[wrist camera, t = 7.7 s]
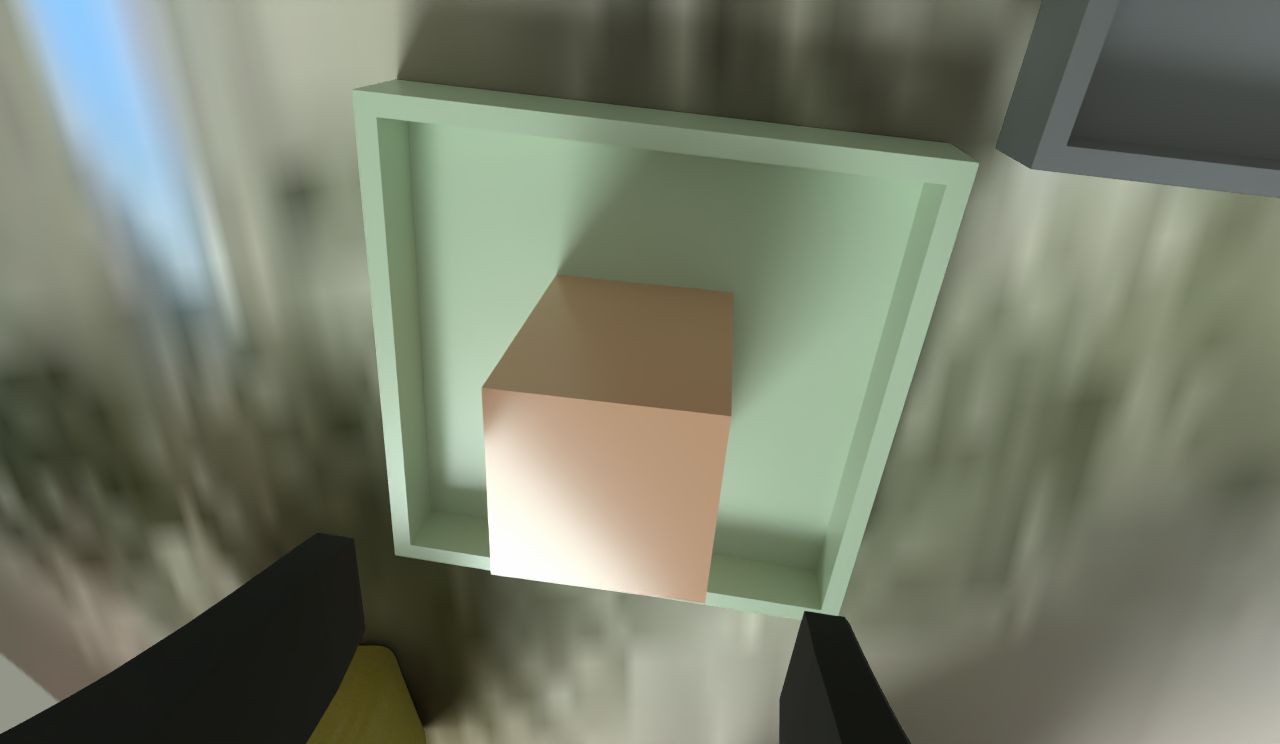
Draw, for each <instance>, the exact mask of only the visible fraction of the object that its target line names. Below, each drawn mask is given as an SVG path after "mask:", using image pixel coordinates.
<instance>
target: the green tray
mask: <svg viewBox="0 0 1280 744" xmlns="http://www.w3.org/2000/svg"><path fill="white" fill-rule="evenodd" d="M352 101H353V111H354V122H355V133H356V143H357V154H358V165H359V175H360V186H361V197H362V207H363V218H364V229H365V239H366V250H367V261H368V271H369V282H370V293H371V303H372V314H373V325H374V335H375V346H376V357H377V368H378V378H379V389H380V400H381V410H382V421H383V432H384V442H385V453H386V464H387V474H388V485H389V496H390V506H391V517H392V528H393V538H394V549H395V555H397V556H403V557H409V558H416V559H422V560H428V561H434V562H441V563H447V564H453V565H459V566H466V567H472V568H478V569H484V570H491V564H490V544H489V525H488V506H487V486H486V467H485V447H484V428H483V408H482V389H481V388H482V386H483V385H484V383H485V382H486V380H487V379H488V377H489V376H490V374H491V373H492V371H493V370H494V368H495V367H496V365H497V364H498V362H499V361H500V359H501V357H502V356H503V354H504V353H505V351H506V350H507V348H508V347H509V345H510V344H511V342H512V341H513V339H514V338H515V336H516V335H517V333H518V332H519V330H520V329H521V327H522V326H523V324H524V323H525V321H526V320H527V318H528V317H529V315H530V314H531V312H532V311H533V309H534V308H535V306H536V305H537V303H538V302H539V300H540V299H541V297H542V296H543V294H544V293H545V291H546V290H547V288H548V286H549V285H550V283H551V282H552V280H553V279H554V277H555V276H556V275H564V276H574V277H584V278H594V279H604V280H614V281H624V282H634V283H644V284H654V285H664V286H674V287H684V288H694V289H703V290H713V291H723V292H733V346H732V408H731V423H730V430H729V437H728V444H727V451H726V458H725V465H724V472H723V479H722V486H721V493H720V501H719V508H718V515H717V522H716V529H715V536H714V543H713V550H712V557H711V564H710V571H709V578H708V586H707V593H706V600H705V603H698V602H691V601H685V602H691V603H697V604H703V605H710V606H716V607H722V608H728V609H735V610H741V611H747V612H753V613H760V614H766V615H772V616H778V617H785V618H791V619H797V620H802V617H803V614H804V611H809V612H816V613H822V614H828V615H834V616H838V615H839V612H840V608H841V605H842V602H843V599H844V596H845V592H846V589H847V586H848V583H849V579H850V576H851V573H852V570H853V567H854V563H855V560H856V557H857V554H858V551H859V547H860V544H861V541H862V538H863V535H864V531H865V528H866V525H867V522H868V519H869V515H870V512H871V509H872V506H873V503H874V499H875V496H876V493H877V490H878V487H879V483H880V480H881V477H882V474H883V471H884V467H885V464H886V461H887V458H888V455H889V451H890V448H891V445H892V442H893V439H894V435H895V432H896V429H897V426H898V422H899V419H900V416H901V413H902V410H903V406H904V403H905V400H906V397H907V394H908V390H909V387H910V384H911V381H912V378H913V374H914V371H915V368H916V365H917V362H918V358H919V355H920V352H921V349H922V346H923V342H924V339H925V336H926V333H927V330H928V326H929V323H930V320H931V317H932V314H933V310H934V307H935V304H936V301H937V298H938V294H939V291H940V288H941V285H942V281H943V278H944V275H945V272H946V269H947V265H948V262H949V259H950V256H951V253H952V249H953V246H954V243H955V240H956V237H957V233H958V230H959V227H960V224H961V221H962V217H963V214H964V211H965V208H966V205H967V201H968V198H969V195H970V192H971V189H972V185H973V182H974V179H975V176H976V173H977V169H978V166H979V162H977V161H976V160H974V159H973V158H971V157H970V156H968V155H967V154H965V153H964V152H962V151H961V150H959V149H958V148H957V147H955V146H954V145H952V144H951V143H943V142H934V141H925V140H917V139H908V138H899V137H891V136H882V135H873V134H865V133H856V132H847V131H839V130H830V129H821V128H813V127H804V126H795V125H787V124H778V123H769V122H761V121H752V120H743V119H735V118H726V117H717V116H709V115H700V114H691V113H683V112H674V111H665V110H657V109H648V108H639V107H631V106H622V105H613V104H605V103H596V102H587V101H579V100H570V99H561V98H553V97H544V96H535V95H527V94H518V93H509V92H501V91H492V90H483V89H475V88H466V87H457V86H449V85H440V84H431V83H423V82H414V81H405V80H396V79H395V80H391V81H387V82H382V83H378V84H374V85H369V86H365V87H361V88H356V89H352ZM653 597H654V596H653ZM660 598H661V597H660ZM666 599H669V598H666ZM672 600H676V599H672ZM678 601H683V600H678Z"/></svg>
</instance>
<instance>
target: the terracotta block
mask: <svg viewBox="0 0 1280 744" xmlns="http://www.w3.org/2000/svg"><path fill="white" fill-rule="evenodd" d="M732 346H733V292H723V291H713V290H703V289H694V288H684V287H674V286H664V285H654V284H644V283H634V282H624V281H614V280H604V279H594V278H584V277H574V276H564V275H556V276H555V277H554V279H553V280H552V282H551V283H550V285H549V286H548V288H547V290H546V291H545V293H544V294H543V296H542V297H541V299H540V300H539V302H538V303H537V305H536V306H535V308H534V309H533V311H532V312H531V314H530V315H529V317H528V318H527V320H526V321H525V323H524V324H523V326H522V327H521V329H520V330H519V332H518V333H517V335H516V336H515V338H514V339H513V341H512V342H511V344H510V345H509V347H508V348H507V350H506V351H505V353H504V354H503V356H502V357H501V359H500V361H499V362H498V364H497V365H496V367H495V368H494V370H493V371H492V373H491V374H490V376H489V377H488V379H487V380H486V382H485V383H484V385H483V386H482V388H481V389H482V408H483V428H484V447H485V467H486V486H487V506H488V525H489V544H490V564H491V574H492V575H499V576H506V577H514V578H521V579H529V580H536V581H543V582H551V583H558V584H565V585H573V586H580V587H588V588H595V589H602V590H610V591H617V592H624V593H632V594H639V595H646V596H654V597H661V598H669V599H676V600H683V601H691V602H698V603H705V600H706V593H707V586H708V578H709V571H710V564H711V557H712V550H713V543H714V536H715V529H716V522H717V515H718V508H719V501H720V493H721V486H722V479H723V472H724V465H725V458H726V451H727V444H728V437H729V430H730V423H731V408H732Z"/></svg>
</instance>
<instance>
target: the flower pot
mask: <svg viewBox="0 0 1280 744" xmlns="http://www.w3.org/2000/svg"><path fill="white" fill-rule="evenodd" d="M306 744H426V737H425V731H424V728H423V726H422V724H421V721H420V719H419V716H418V714H417V712H416V709H415V707H414V704H413V702H412V699H411V697H410V695H409V692H408V689H407V686H406V684H405V681H404V679H403V676H402V674H401V671H400V668H399V665H398V663H397V660H396V657H395V656H394V654H393V653H392V651H391V650H390V649H388V648H386V647H383V646H358V647H357V650H356V652H355V654H354V656H353V659H352V661H351V663H350V665H349V667H348V670H347V672H346V674H345V676H344V678H343V680H342V682H341V685H340V687H339V689H338V691H337V693H336V694H335V696H334V698H333V699H332V701H331V703H330V705H329V706H328V708H327V710H326V711H325V713H324V715H323V716H322V718H321V720H320V721H319V723H318V725H317V726H316V728H315V730H314V732H313V733H312V735H311V737H310V738H309V740H308V742H307V743H306Z"/></svg>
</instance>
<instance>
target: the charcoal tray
mask: <svg viewBox="0 0 1280 744" xmlns="http://www.w3.org/2000/svg"><path fill="white" fill-rule="evenodd" d="M996 149H997V150H999V151H1001V152H1002V153H1004V154H1006V155H1007V156H1009V157H1011V158H1013V159H1014V160H1016V161H1018V162H1020V163H1021V164H1023V165H1025V166H1027V167H1028V168H1030V169H1035V170H1044V171H1052V172H1061V173H1070V174H1078V175H1087V176H1095V177H1104V178H1112V179H1121V180H1129V181H1138V182H1147V183H1155V184H1164V185H1172V186H1181V187H1189V188H1198V189H1206V190H1215V191H1224V192H1232V193H1241V194H1249V195H1258V196H1266V197H1275V198H1280V0H1043V2H1042V5H1041V8H1040V11H1039V14H1038V17H1037V20H1036V23H1035V27H1034V30H1033V33H1032V36H1031V39H1030V42H1029V45H1028V49H1027V52H1026V55H1025V58H1024V61H1023V64H1022V67H1021V70H1020V74H1019V77H1018V80H1017V83H1016V86H1015V89H1014V92H1013V95H1012V99H1011V102H1010V105H1009V108H1008V111H1007V114H1006V117H1005V121H1004V124H1003V127H1002V130H1001V133H1000V136H999V139H998V142H997V146H996Z"/></svg>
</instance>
